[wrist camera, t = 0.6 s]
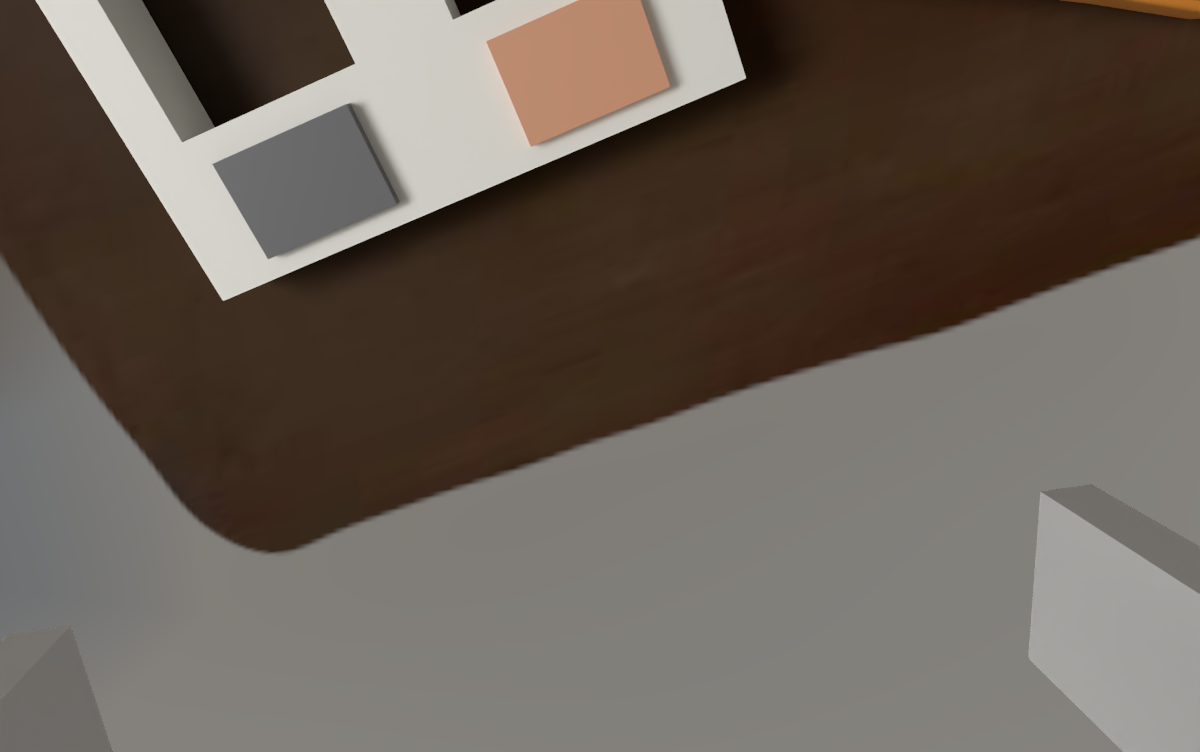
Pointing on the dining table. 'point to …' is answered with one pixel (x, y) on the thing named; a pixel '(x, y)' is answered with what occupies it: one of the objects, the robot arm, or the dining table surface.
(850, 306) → the dining table surface
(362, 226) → the socket board
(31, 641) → the robot arm
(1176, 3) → the multimeter
